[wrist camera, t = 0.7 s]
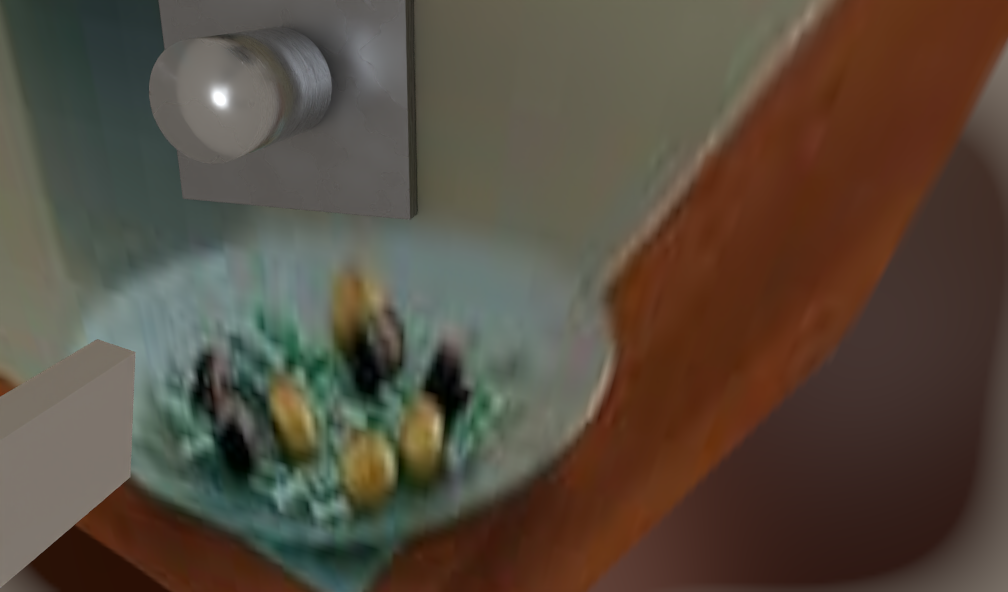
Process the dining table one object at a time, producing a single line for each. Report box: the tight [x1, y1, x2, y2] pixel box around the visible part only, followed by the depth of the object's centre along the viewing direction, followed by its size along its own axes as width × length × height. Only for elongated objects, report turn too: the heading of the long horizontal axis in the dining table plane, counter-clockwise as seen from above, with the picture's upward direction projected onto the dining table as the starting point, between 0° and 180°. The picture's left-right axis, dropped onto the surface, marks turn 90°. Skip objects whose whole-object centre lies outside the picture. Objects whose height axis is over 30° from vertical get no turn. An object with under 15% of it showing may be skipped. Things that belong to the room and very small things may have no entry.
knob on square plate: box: [149, 0, 417, 219], centre depth 37 cm, size 12×12×8 cm
